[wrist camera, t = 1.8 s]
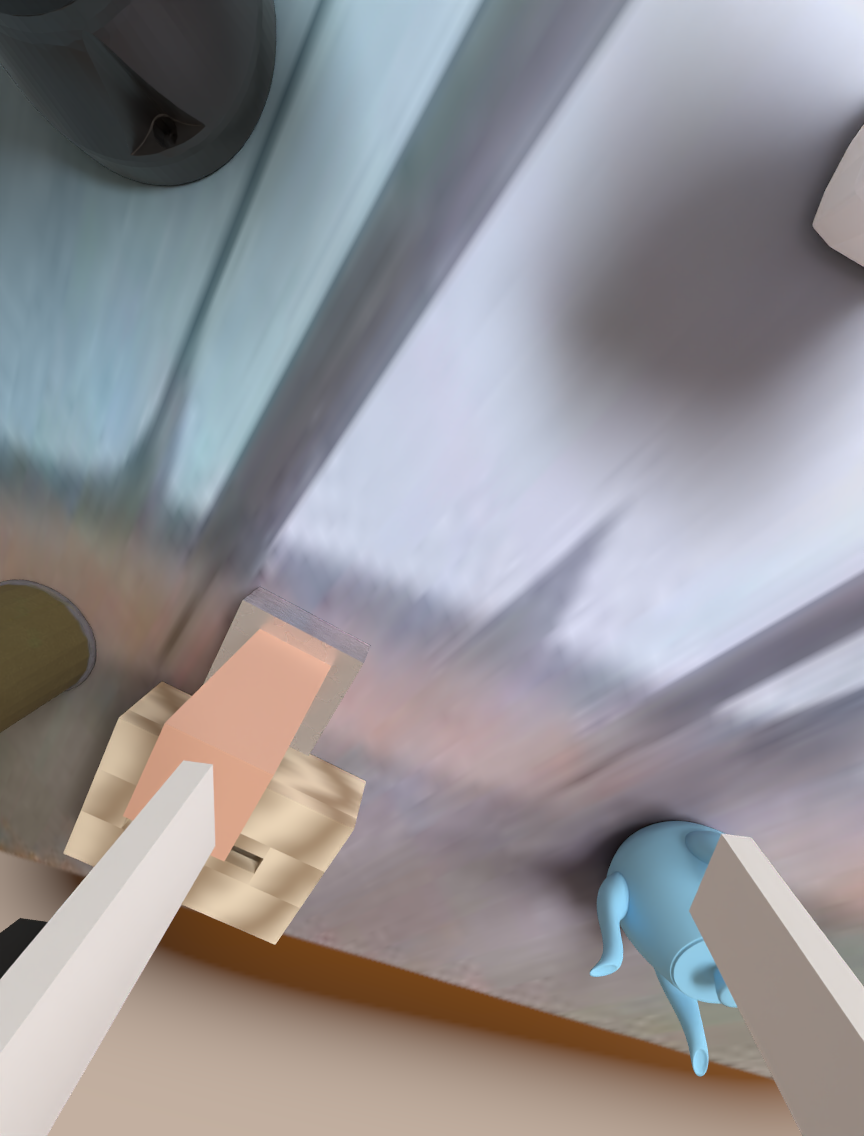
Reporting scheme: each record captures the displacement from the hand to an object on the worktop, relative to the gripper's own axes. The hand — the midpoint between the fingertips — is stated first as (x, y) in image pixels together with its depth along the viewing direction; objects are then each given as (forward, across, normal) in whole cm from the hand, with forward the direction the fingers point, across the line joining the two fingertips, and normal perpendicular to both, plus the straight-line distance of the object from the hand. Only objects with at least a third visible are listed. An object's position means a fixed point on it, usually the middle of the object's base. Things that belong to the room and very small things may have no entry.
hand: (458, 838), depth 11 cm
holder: (+23, -12, -10) cm, 28 cm away
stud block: (+23, -12, -10) cm, 28 cm away
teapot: (+23, +23, -26) cm, 42 cm away
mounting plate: (+23, -18, -24) cm, 38 cm away
